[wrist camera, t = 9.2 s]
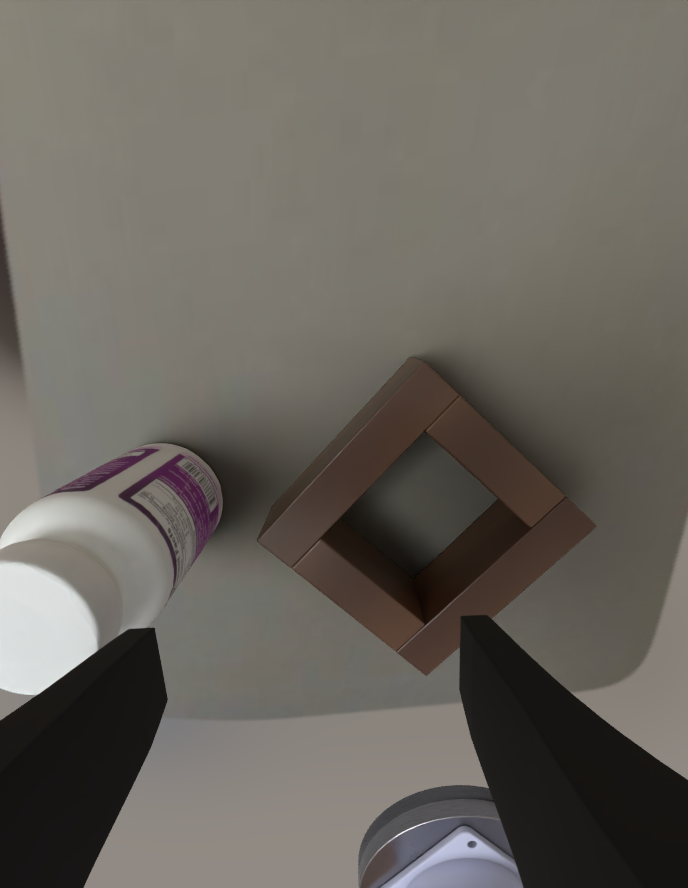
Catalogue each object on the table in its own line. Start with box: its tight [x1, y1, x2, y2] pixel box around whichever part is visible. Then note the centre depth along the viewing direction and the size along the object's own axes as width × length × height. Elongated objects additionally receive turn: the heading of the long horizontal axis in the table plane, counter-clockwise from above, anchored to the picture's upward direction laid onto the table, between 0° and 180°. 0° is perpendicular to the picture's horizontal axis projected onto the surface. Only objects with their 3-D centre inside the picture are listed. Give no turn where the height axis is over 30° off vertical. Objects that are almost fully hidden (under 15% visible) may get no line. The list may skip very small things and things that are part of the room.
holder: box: [257, 357, 596, 676], centre depth 18 cm, size 9×9×4 cm
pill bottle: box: [0, 443, 223, 695], centre depth 16 cm, size 5×5×10 cm
